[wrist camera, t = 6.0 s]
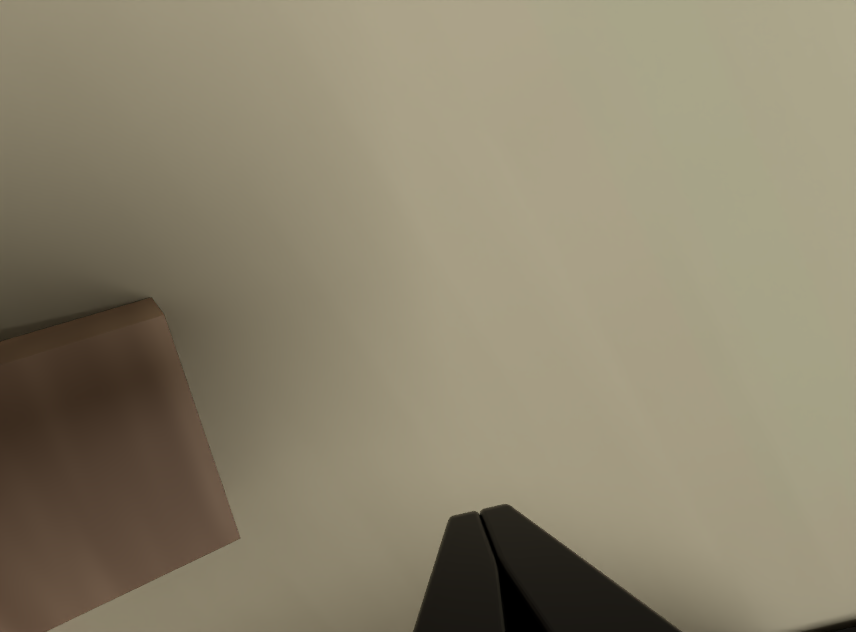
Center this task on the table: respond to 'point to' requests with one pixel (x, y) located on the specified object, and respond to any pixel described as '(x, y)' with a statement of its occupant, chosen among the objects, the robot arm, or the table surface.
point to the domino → (99, 467)
